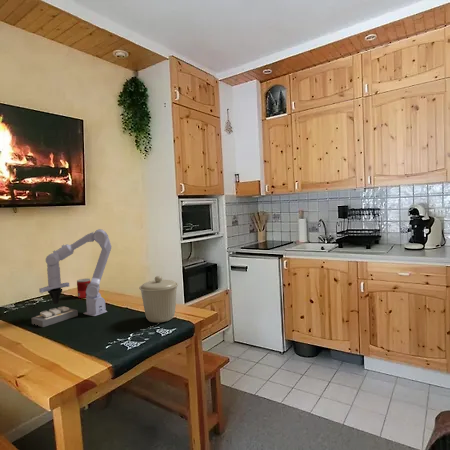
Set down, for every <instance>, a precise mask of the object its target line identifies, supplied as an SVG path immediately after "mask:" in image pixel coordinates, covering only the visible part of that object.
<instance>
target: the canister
mask: <svg viewBox="0 0 450 450" xmlns="http://www.w3.org/2000/svg"><path fill="white" fill-rule="evenodd" d="M178 285H179V283H178V282H176V281H174V280H171V279H163V277H162V276H161V275H156V276H155V277H154V280H151V281H150V280H149V281H146V282H144V283H142V285H140V286H139V290H140V292H141V293H140V294H141V298H142V305H143V310H144V314H145V317H146V319H147V321H149V322H150V323H159V324H160V323H166V322H168V321H170V320H172V319H173V318H174V317H175V313H176V303H177V287H178Z"/></svg>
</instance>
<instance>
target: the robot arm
mask: <svg viewBox="0 0 450 450" xmlns="http://www.w3.org/2000/svg"><path fill="white" fill-rule="evenodd" d="M94 241H95V242H96V243H97V244H98V246H99V247H100V248H101V250H100V254H99V257H98V259H97V262H96V265H95V267H94V271H93V275H92V277H91V279H90V283H89V284H88V286H87V289H86V294H87V296H86V298H85V303H86V311H85V312H83V314H84V315H87V316H92V317H96V316H99V315H102V314H105V313H108V311H107V309H106V308H107V307H106V300H105V298H104V297H102V295H101V292H100V283H101V280H102V277H103V273H104V271H105V268H106V265H107V262H108V259H109V256H110V253H111V252H112V251H111V250H112V244H111V241H110V237H109V235H108V234H107V232H106V231H105V229H101V228H98V229H96V230H95V231H91V232H90V233H87V234H85V235H84V236H82V237H81V238H79V239H78V240H76V241H74V242H73V243H71V244H66V243H65V244H63V245H61V247H60V248H58V249H56V250H53V251H52V252H51V253H50V254H48V255H47V256H46V258H45V263H46V266H47V268H46V271H47V284H48V285H47V286H44V287H41V288H39V293H41V294H42V293H46V292H47V293H48V295H49V296H50V297H51V300H52V303H53V304H54V305H57V304H59V301H60V296H61V294H62V292H63V288H67V287H70V282H62V281H61V267H60V261H63V260H65V259H66V258H68V257H70V256H71V255H73V254H74V253H75V250H76V249H78V248H80V247H81V246H83V245H85V244H86V243H93V242H94Z"/></svg>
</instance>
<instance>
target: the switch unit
mask: <svg viewBox="0 0 450 450" xmlns="http://www.w3.org/2000/svg"><path fill="white" fill-rule="evenodd" d="M68 308H69V310H67V311H64V312H63V311H61V313H59V314H56V315H54V314H52V316H50V317H44V316H42V315H40V314H39V315H36V316H34V317H31V325H34V324H35V325H34V326H37V325H38V327H41V328H45V327H48V326H51V325H55V324H57V323H60V322H63V321H67V320H69V319H72V318H76V317H78V315H79V314H78V310H77V309H74V308H71V307H68ZM50 313H51V312H50Z"/></svg>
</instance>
